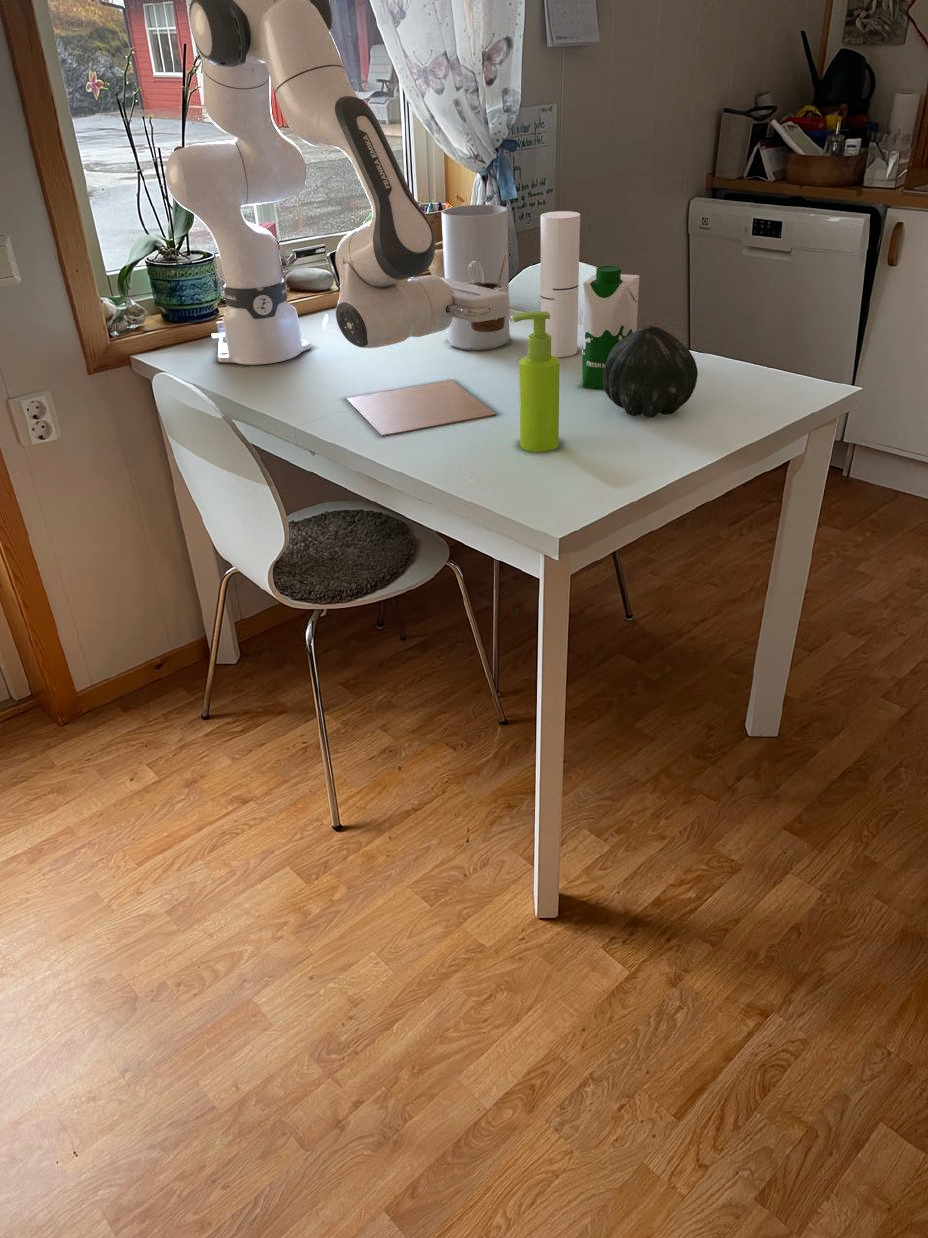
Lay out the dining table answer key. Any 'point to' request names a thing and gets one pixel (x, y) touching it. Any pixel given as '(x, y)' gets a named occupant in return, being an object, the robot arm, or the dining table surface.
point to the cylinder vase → (483, 241)
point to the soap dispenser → (538, 388)
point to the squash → (650, 373)
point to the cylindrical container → (560, 279)
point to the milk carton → (606, 318)
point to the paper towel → (419, 407)
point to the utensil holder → (495, 323)
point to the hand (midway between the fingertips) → (491, 288)
